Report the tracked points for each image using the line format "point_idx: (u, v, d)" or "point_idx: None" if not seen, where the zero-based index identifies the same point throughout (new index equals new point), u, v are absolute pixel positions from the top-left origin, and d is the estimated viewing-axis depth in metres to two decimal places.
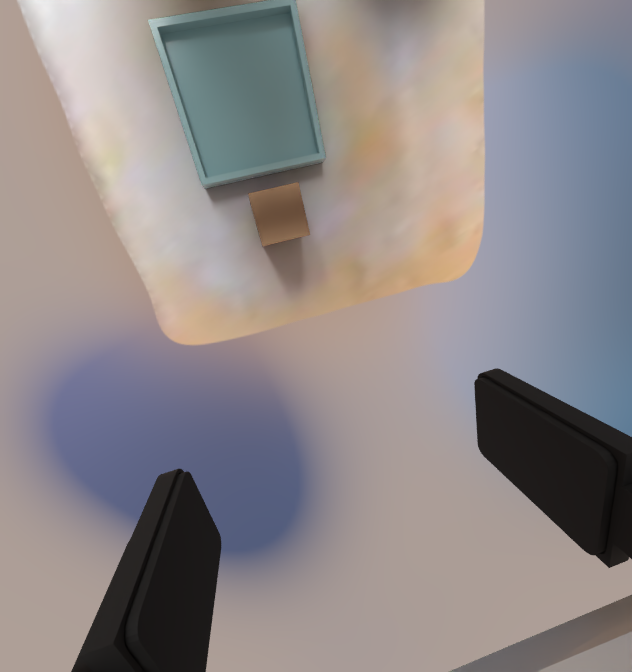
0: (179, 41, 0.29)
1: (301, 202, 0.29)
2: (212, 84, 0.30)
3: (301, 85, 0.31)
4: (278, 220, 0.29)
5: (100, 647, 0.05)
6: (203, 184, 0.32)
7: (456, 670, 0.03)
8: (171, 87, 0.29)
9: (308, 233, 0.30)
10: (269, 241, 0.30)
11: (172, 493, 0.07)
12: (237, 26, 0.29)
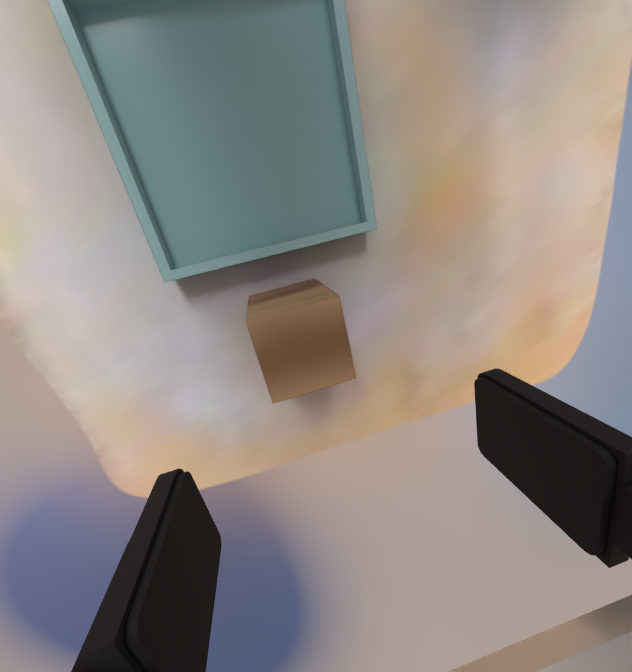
0: (111, 24, 0.15)
1: (343, 329, 0.16)
2: (179, 106, 0.16)
3: (338, 107, 0.18)
4: (300, 360, 0.16)
5: (100, 647, 0.05)
6: (167, 280, 0.18)
7: (456, 670, 0.03)
8: (98, 114, 0.15)
9: (353, 376, 0.17)
10: (283, 395, 0.17)
11: (172, 493, 0.07)
12: None
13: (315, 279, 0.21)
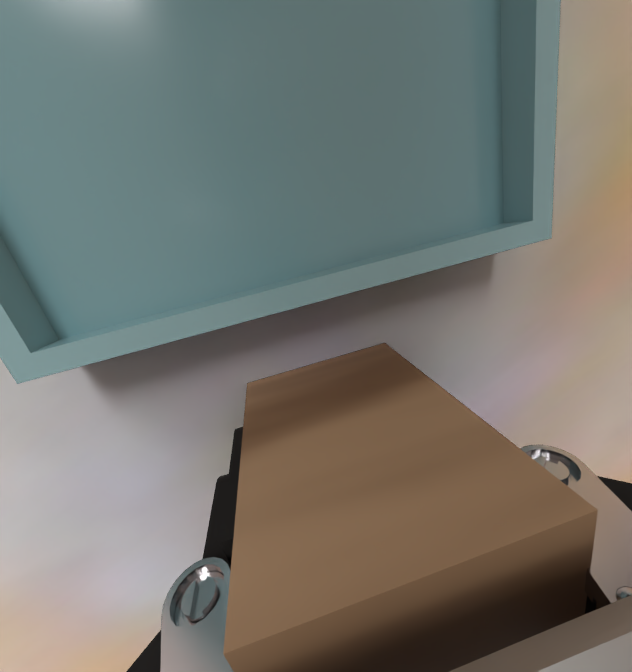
0: None
1: (579, 599, 0.04)
2: None
3: None
4: None
5: None
6: (27, 377, 0.07)
7: (456, 670, 0.03)
8: None
9: None
10: None
11: None
12: None
13: (388, 346, 0.10)
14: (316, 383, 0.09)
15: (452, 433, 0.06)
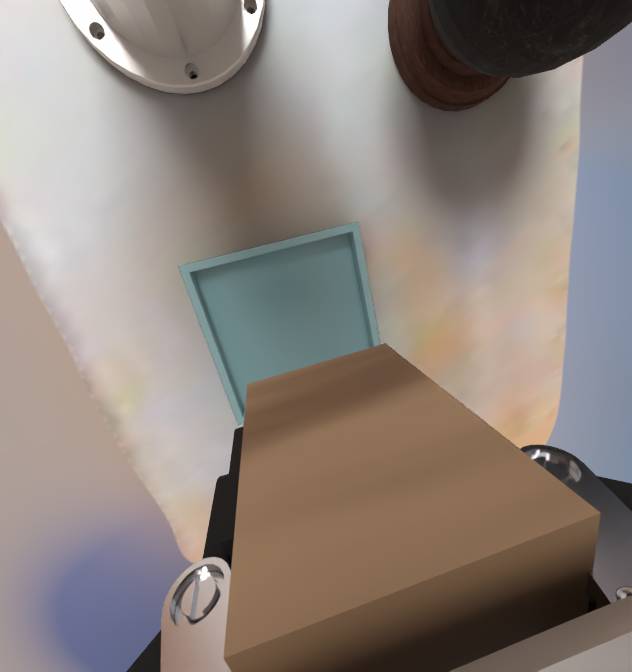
0: (215, 276, 0.23)
1: (581, 602, 0.04)
2: (253, 315, 0.24)
3: (359, 304, 0.26)
4: None
5: None
6: (239, 423, 0.26)
7: (456, 670, 0.03)
8: (204, 331, 0.23)
9: None
10: None
11: None
12: (285, 253, 0.23)
13: (389, 347, 0.10)
14: (316, 384, 0.09)
15: (453, 435, 0.06)
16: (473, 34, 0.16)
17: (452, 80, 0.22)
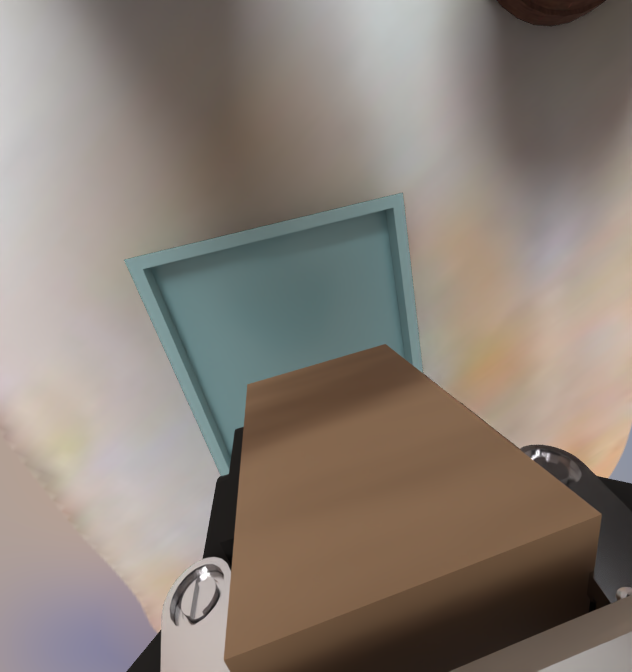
0: (185, 274, 0.15)
1: (582, 604, 0.04)
2: (244, 331, 0.17)
3: (394, 314, 0.18)
4: None
5: None
6: None
7: (456, 670, 0.03)
8: (171, 357, 0.15)
9: None
10: None
11: None
12: (291, 240, 0.16)
13: (389, 347, 0.10)
14: (317, 384, 0.09)
15: (454, 435, 0.06)
16: None
17: None
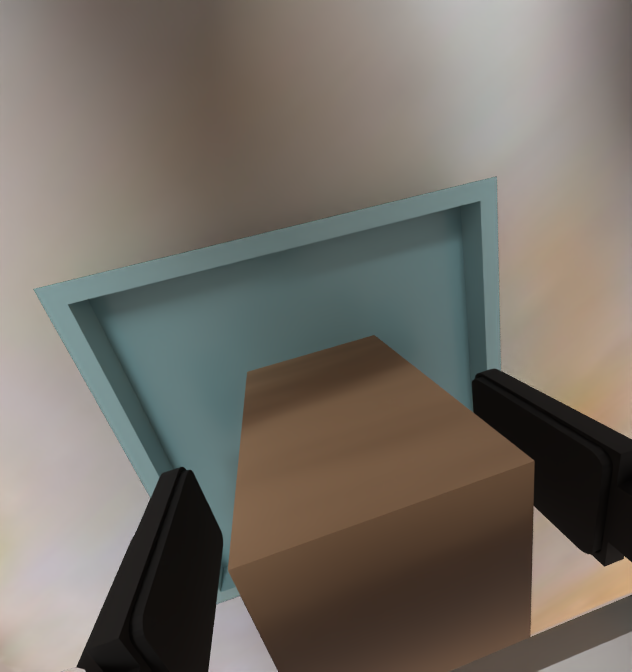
0: (147, 308, 0.10)
1: (526, 542, 0.05)
2: (241, 391, 0.11)
3: (463, 359, 0.12)
4: (395, 632, 0.05)
5: (106, 641, 0.05)
6: None
7: (456, 670, 0.03)
8: (124, 441, 0.10)
9: (524, 637, 0.06)
10: None
11: (175, 491, 0.07)
12: (316, 254, 0.10)
13: (377, 338, 0.11)
14: (310, 370, 0.10)
15: (425, 408, 0.07)
16: None
17: None
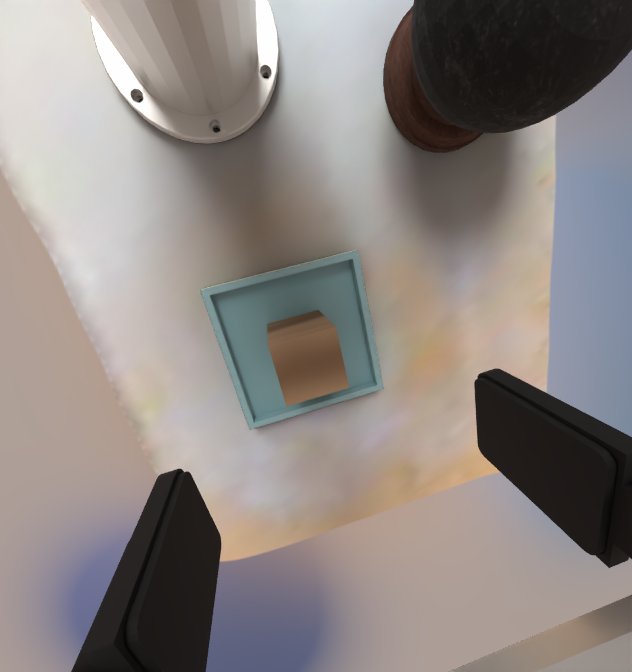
0: (231, 297, 0.26)
1: (339, 350, 0.22)
2: (264, 331, 0.27)
3: (359, 321, 0.29)
4: (307, 374, 0.22)
5: (100, 647, 0.05)
6: (251, 428, 0.29)
7: (456, 670, 0.03)
8: (221, 346, 0.26)
9: (347, 386, 0.22)
10: (294, 400, 0.22)
11: (172, 493, 0.07)
12: (293, 277, 0.27)
13: (318, 310, 0.27)
14: (291, 320, 0.26)
15: (320, 323, 0.23)
16: (452, 104, 0.19)
17: (439, 129, 0.25)
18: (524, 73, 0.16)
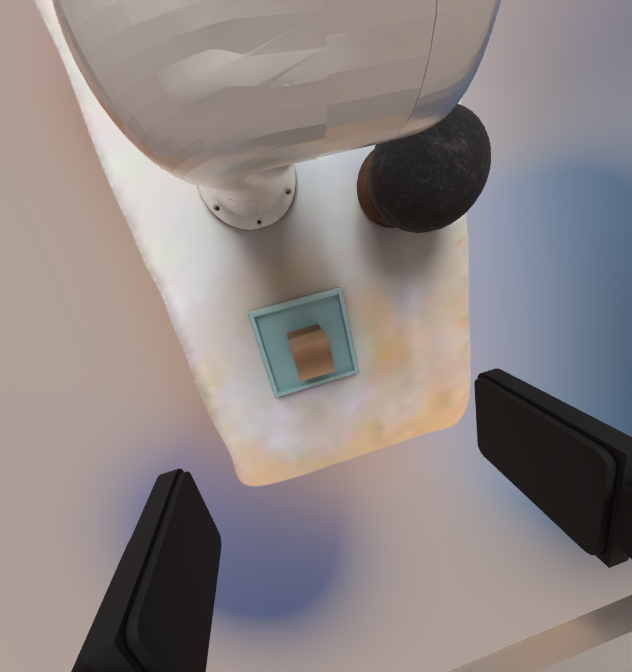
0: (265, 317, 0.43)
1: (330, 350, 0.39)
2: (284, 337, 0.45)
3: (343, 330, 0.46)
4: (312, 363, 0.39)
5: (100, 647, 0.05)
6: (276, 396, 0.46)
7: (456, 670, 0.03)
8: (260, 347, 0.43)
9: (334, 370, 0.40)
10: (305, 378, 0.40)
11: (172, 493, 0.07)
12: (302, 305, 0.44)
13: None
14: (301, 331, 0.43)
15: (319, 334, 0.40)
16: (389, 221, 0.36)
17: None
18: (417, 220, 0.33)
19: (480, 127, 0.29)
